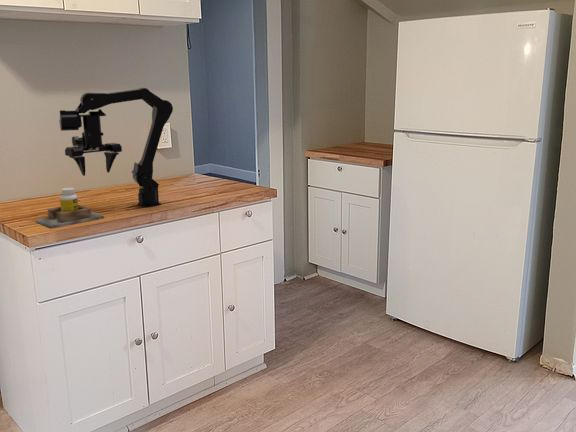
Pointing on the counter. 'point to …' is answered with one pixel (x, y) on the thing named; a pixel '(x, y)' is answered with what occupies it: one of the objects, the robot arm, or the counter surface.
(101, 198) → the counter surface
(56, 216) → the pocket
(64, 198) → the supplement bottle
